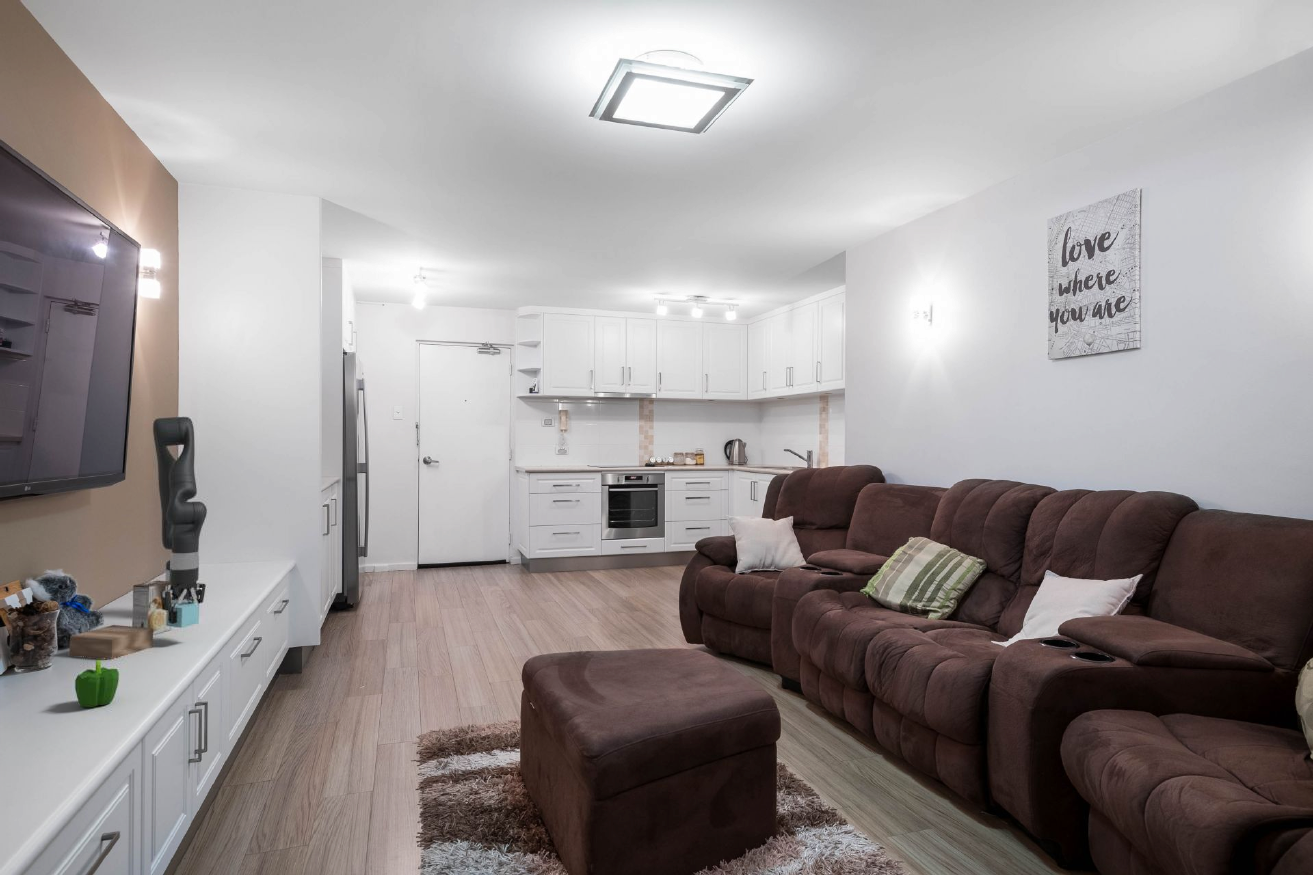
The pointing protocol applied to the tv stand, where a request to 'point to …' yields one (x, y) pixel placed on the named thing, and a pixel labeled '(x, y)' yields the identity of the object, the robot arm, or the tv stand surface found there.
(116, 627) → the walnut block
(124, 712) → the tv stand surface
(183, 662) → the tv stand surface
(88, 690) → the bell pepper
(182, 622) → the teal cube
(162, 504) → the robot arm
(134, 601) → the coffee box
